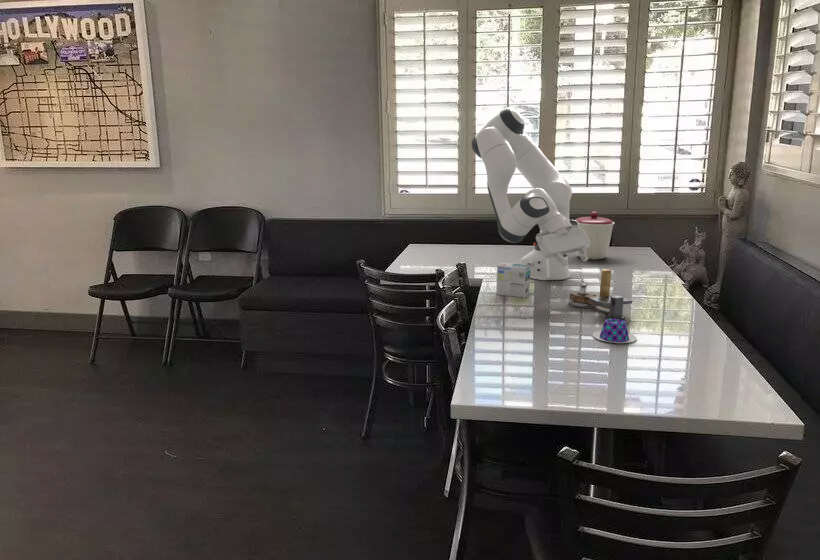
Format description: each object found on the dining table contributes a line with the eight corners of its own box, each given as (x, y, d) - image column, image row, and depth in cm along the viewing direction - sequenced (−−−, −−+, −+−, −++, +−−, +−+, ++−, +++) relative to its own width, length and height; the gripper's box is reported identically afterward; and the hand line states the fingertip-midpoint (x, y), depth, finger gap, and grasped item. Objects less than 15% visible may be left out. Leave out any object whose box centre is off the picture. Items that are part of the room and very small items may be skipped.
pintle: (564, 305, 221) (565, 284, 219) (574, 299, 228) (575, 279, 226) (590, 309, 216) (592, 288, 214) (599, 303, 223) (601, 283, 221)
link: (569, 299, 222) (571, 264, 220) (581, 296, 226) (584, 262, 223) (612, 311, 208) (615, 274, 205) (624, 309, 211) (627, 272, 208)
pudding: (583, 337, 189) (584, 319, 188) (609, 329, 196) (610, 312, 195) (618, 348, 180) (620, 330, 178) (644, 340, 187) (646, 322, 185)
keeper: (588, 314, 210) (590, 293, 208) (617, 311, 214) (618, 290, 212) (604, 322, 202) (606, 300, 201) (633, 318, 206) (635, 296, 204)
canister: (579, 252, 312) (582, 207, 307) (617, 256, 302) (621, 211, 297) (564, 258, 298) (567, 212, 293) (603, 263, 288) (607, 215, 283)
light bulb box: (530, 293, 236) (531, 264, 233) (524, 298, 230) (526, 268, 227) (501, 290, 240) (502, 261, 238) (495, 294, 234) (496, 265, 232)
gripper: (538, 229, 219) (559, 263, 214) (581, 220, 230) (601, 252, 225) (528, 239, 224) (548, 273, 219) (571, 230, 235) (591, 262, 230)
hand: (576, 262), depth 222 cm, fingers open, 8 cm apart
